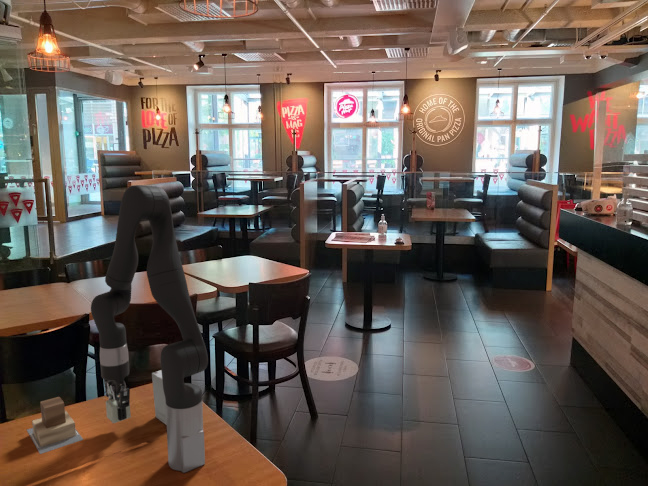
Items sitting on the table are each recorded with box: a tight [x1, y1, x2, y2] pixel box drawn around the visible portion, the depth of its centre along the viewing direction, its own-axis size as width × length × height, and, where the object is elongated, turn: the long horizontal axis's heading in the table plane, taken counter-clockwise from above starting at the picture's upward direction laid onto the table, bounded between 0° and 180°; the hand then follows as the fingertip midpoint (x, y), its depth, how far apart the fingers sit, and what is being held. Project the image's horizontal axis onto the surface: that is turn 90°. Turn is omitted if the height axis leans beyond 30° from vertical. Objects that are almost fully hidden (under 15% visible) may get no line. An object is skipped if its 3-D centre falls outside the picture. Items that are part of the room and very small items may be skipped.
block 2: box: [105, 399, 131, 424], centre depth 148 cm, size 5×5×5 cm
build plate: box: [26, 427, 84, 455], centre depth 147 cm, size 16×11×1 cm
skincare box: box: [151, 369, 167, 426], centre depth 157 cm, size 8×6×15 cm
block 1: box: [39, 396, 66, 428], centre depth 146 cm, size 5×5×6 cm
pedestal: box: [31, 410, 77, 447], centre depth 146 cm, size 9×9×4 cm
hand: (118, 415), depth 149 cm, fingers closed on block 2, 5 cm apart
